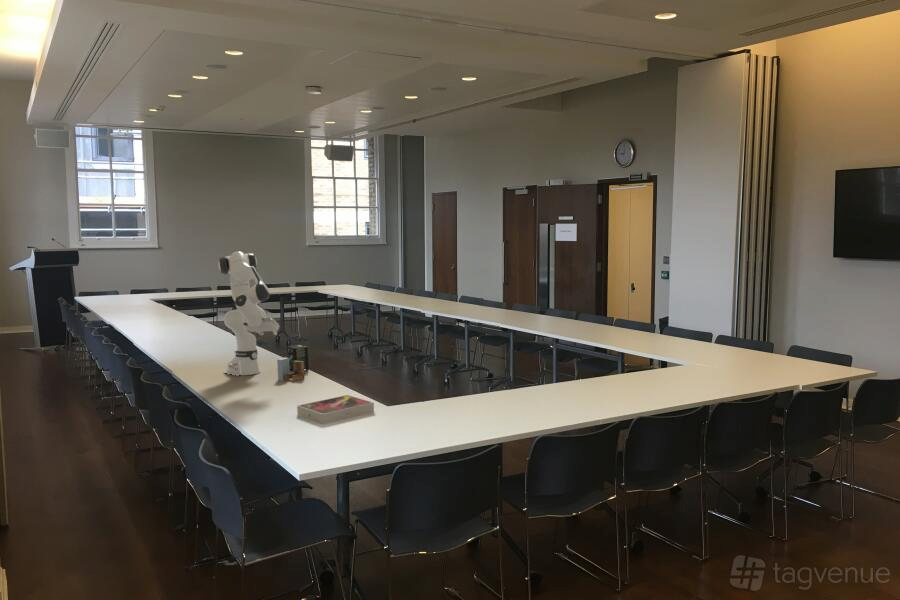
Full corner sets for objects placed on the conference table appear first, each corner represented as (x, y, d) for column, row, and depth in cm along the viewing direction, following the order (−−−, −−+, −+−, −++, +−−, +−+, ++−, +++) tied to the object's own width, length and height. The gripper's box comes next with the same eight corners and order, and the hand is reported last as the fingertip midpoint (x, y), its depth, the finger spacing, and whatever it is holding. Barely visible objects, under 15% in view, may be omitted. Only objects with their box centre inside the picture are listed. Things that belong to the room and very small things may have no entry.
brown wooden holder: (285, 380, 408) (284, 363, 407) (295, 377, 416) (294, 360, 415) (293, 381, 405) (293, 364, 404) (304, 378, 413) (303, 361, 412)
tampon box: (309, 370, 436) (308, 346, 435) (294, 372, 431) (293, 348, 429) (302, 367, 445) (301, 344, 444) (287, 369, 440) (286, 345, 438)
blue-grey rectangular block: (278, 379, 411) (277, 359, 409) (285, 377, 416) (284, 357, 415) (282, 380, 409) (281, 359, 408) (290, 378, 414) (289, 357, 413)
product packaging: (297, 416, 334) (297, 405, 334) (347, 404, 353) (347, 394, 353) (322, 425, 319) (322, 414, 318) (374, 412, 337) (373, 402, 337)
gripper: (273, 313, 388) (286, 329, 397) (244, 314, 397) (257, 330, 406) (269, 322, 384) (282, 338, 393) (239, 323, 393) (252, 339, 402)
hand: (269, 334), depth 400 cm, fingers open, 8 cm apart
